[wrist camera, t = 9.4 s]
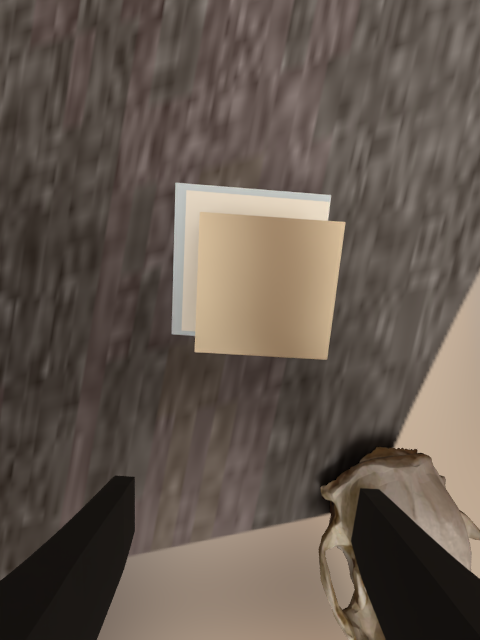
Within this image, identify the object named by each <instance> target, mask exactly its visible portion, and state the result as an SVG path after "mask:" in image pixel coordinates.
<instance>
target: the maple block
mask: <svg viewBox="0 0 480 640" xmlns="http://www.w3.org/2000/svg"><path fill="white" fill-rule="evenodd" d="M344 229H345V222H336V221H322V220H308V219H294V218H280V217H266V216H252V215H238V214H224V213H209V212H200V217H199V244H198V272H197V300H196V327H195V352H201V353H218V354H236V355H254V356H271V357H289V358H307V359H324V360H327V356H328V349H329V341H330V334H331V326H332V319H333V311H334V304H335V296H336V289H337V281H338V274H339V266H340V259H341V251H342V244H343V236H344Z"/></svg>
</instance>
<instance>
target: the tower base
mask: <svg viewBox="0 0 480 640" xmlns="http://www.w3.org/2000/svg"><path fill="white" fill-rule="evenodd" d="M186 190H191V191H203V192H215V193H227V194H240V195H252V196H264V197H276V198H288V199H300V200H313V201H325V202H330V201H331V195H322V194H310V193H298V192H285V191H273V190H260V189H248V188H235V187H223V186H210V185H198V184H185V183H176V188H175V226H174V265H173V304H172V334H175V335H191V336H195V331H181V329H182V300H183V272H184V244H185V215H186ZM329 208H330V207H329ZM328 216H329V215H328Z"/></svg>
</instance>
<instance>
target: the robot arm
mask: <svg viewBox="0 0 480 640" xmlns="http://www.w3.org/2000/svg"><path fill="white" fill-rule="evenodd" d="M134 532H135V477H127V476H114V477H113V478H112V479H111V480H110V481H109V482H108V483H107V484H106V485H105V486H104V487H103V488H102V489H101V490H100V491H99V492H98V493H97V494H96V495H95V496H94V497H93V498H92V499H91V500H90V501H89V502H88V503H87V504H86V505H85V506H84V507H83V508H82V509H81V510H80V511H79V512H78V513H77V514H76V515H75V516H74V517H73V518H72V519H71V520H70V521H69V522H68V523H66V524H65V525H64V526H63V527H62V528H61V529H60V530H59V531H58V532H57V533H56V534H55V535H54V536H53V537H51V538H50V539H49V540H48V541H47V542H46V543H45V544H43V545H42V546H41V547H40V548H39V549H38V550H37V551H36V552H34V553H33V554H32V555H31V556H30V557H29V558H28V559H26V560H25V561H24V562H23V563H22V564H20V565H19V566H18V567H17V568H16V569H14V570H13V571H12V572H11V573H9V574H8V575H7V576H6V577H5V578H3V579H2V580H1V581H0V640H97V638H98V635H99V633H100V630H101V627H102V625H103V622H104V620H105V617H106V615H107V612H108V609H109V607H110V604H111V602H112V599H113V597H114V594H115V591H116V588H117V586H118V584H119V581H120V578H121V576H122V573H123V570H124V567H125V563H126V560H127V557H128V554H129V550H130V546H131V543H132V539H133V535H134ZM351 543H352V547H353V550H354V554H355V558H356V562H357V565H358V568H359V572H360V575H361V578H362V581H363V584H364V586H365V589H366V591H367V594H368V596H369V599H370V602H371V604H372V607H373V609H374V612H375V614H376V617H377V619H378V622H379V624H380V627H381V629H382V632H383V634H384V637H385V639H386V640H480V579H479V578H478V577H477V576H475V575H474V574H473V573H472V572H471V571H469V570H468V569H467V568H466V567H465V566H464V565H462V564H461V563H460V562H459V561H458V560H456V559H455V558H454V557H453V556H452V555H451V554H450V553H448V552H447V551H446V550H445V549H444V548H443V547H442V546H441V545H439V544H438V543H437V542H436V541H435V540H434V539H433V538H432V537H431V536H429V535H428V534H427V533H426V532H425V531H424V530H423V529H422V528H421V527H420V526H419V525H417V524H416V523H415V522H414V521H413V520H412V519H411V518H410V517H409V516H408V515H407V514H406V513H405V512H404V511H402V510H401V509H400V508H399V507H398V506H397V505H396V504H395V503H394V502H393V501H392V500H391V499H390V498H389V497H387V496H386V495H385V494H384V493H383V492H382V491H381V490H379V489H368V488H360V492H359V498H358V504H357V509H356V515H355V520H354V526H353V532H352V537H351Z"/></svg>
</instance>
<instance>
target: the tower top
mask: <svg viewBox="0 0 480 640" xmlns="http://www.w3.org/2000/svg"><path fill="white" fill-rule="evenodd" d="M329 207H330V202H325V201H313V200H300V199H288V198H276V197H264V196H252V195H240V194H227V193H215V192H203V191H191V190H186V215H185V244H184V272H183V300H182V329H181V331H195V327H196V300H197V272H198V244H199V217H200V212H209V213H224V214H238V215H252V216H266V217H280V218H294V219H308V220H322V221H328V215H329Z"/></svg>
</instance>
